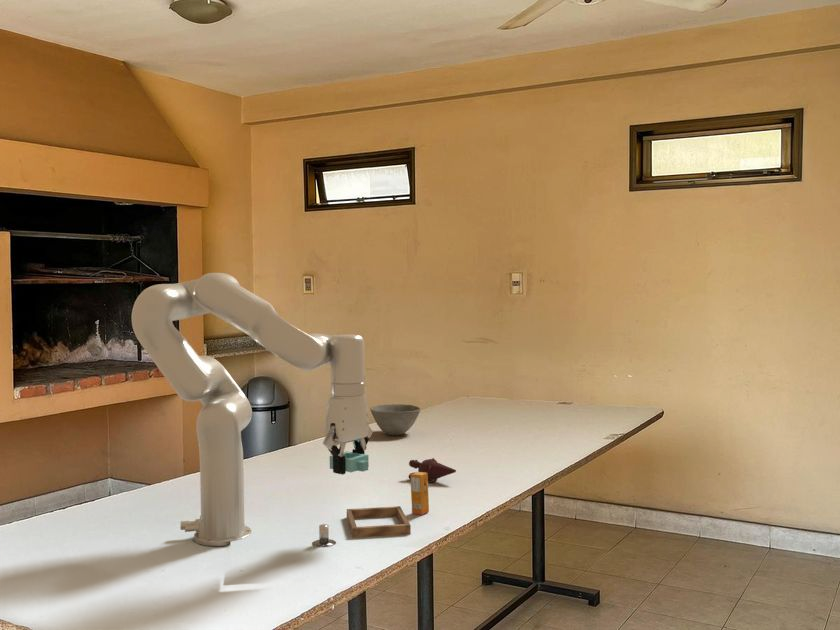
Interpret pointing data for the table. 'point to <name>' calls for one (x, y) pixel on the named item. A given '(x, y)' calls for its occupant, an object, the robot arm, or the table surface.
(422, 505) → the supplement box
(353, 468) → the teal tabbed square frame
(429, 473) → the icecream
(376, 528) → the tray
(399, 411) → the bowl
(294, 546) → the table surface
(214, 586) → the table surface
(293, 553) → the table surface
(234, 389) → the robot arm
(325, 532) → the grey metallic peg stand
